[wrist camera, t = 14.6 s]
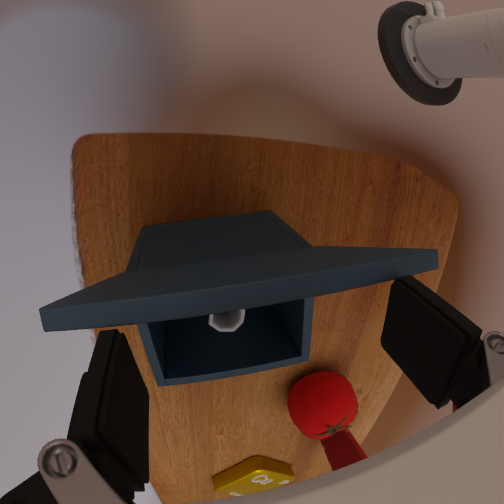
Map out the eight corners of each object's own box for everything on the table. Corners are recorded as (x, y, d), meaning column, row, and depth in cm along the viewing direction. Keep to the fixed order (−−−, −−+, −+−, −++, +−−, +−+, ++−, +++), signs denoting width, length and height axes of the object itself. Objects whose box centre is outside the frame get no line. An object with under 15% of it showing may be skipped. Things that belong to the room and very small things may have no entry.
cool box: (273, 299, 39) (309, 360, 28) (160, 315, 36) (157, 386, 25) (271, 210, 34) (316, 249, 23) (142, 226, 32) (123, 275, 20)
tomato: (291, 359, 44) (318, 412, 34) (350, 357, 47) (383, 401, 37) (271, 408, 48) (290, 457, 38) (326, 403, 51) (350, 446, 41)
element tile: (208, 477, 55) (211, 493, 50) (255, 453, 53) (261, 470, 49) (249, 487, 61) (253, 501, 57) (293, 465, 60) (299, 479, 55)
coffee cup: (305, 438, 55) (330, 491, 41) (324, 415, 53) (354, 471, 39) (334, 435, 58) (361, 484, 44) (353, 413, 55) (384, 463, 42)
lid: (439, 268, 10) (438, 249, 10) (43, 332, 8) (38, 308, 8) (319, 256, 23) (318, 246, 23) (123, 283, 20) (121, 272, 20)
